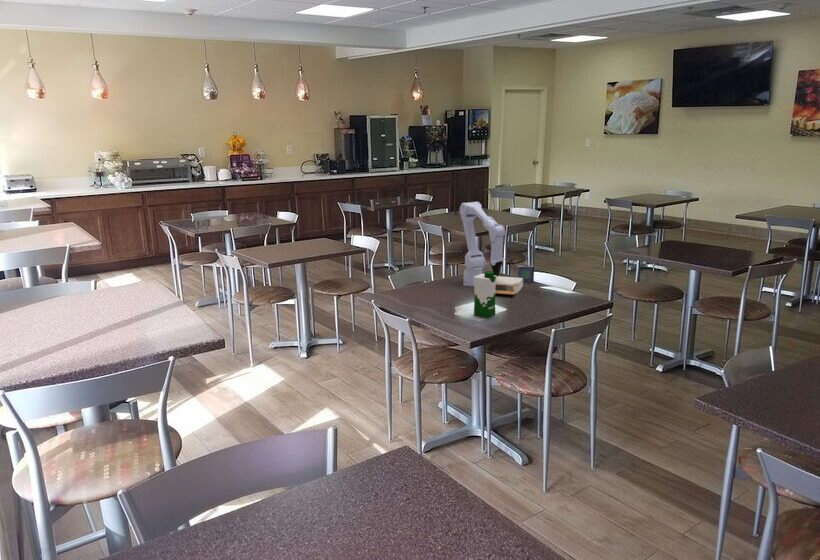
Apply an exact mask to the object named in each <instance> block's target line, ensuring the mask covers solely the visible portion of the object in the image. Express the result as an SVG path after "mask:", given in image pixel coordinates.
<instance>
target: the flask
mask: <svg viewBox="0 0 820 560" xmlns="http://www.w3.org/2000/svg"><path fill="white" fill-rule="evenodd" d="M516 278H523V284H526V283H527V284H533V283H534V282H535V279H534V278H535V267H534V265H529V264H527V262H524V263H523V265H516Z"/></svg>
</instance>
